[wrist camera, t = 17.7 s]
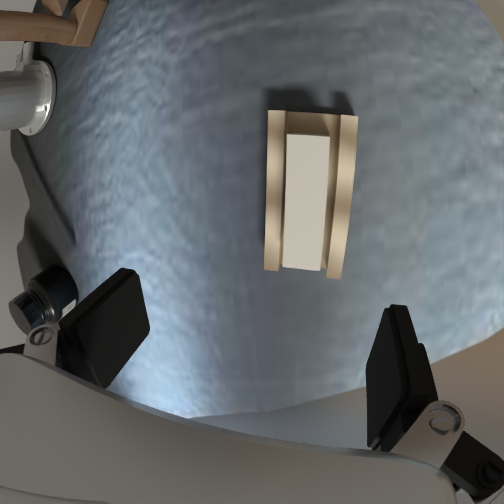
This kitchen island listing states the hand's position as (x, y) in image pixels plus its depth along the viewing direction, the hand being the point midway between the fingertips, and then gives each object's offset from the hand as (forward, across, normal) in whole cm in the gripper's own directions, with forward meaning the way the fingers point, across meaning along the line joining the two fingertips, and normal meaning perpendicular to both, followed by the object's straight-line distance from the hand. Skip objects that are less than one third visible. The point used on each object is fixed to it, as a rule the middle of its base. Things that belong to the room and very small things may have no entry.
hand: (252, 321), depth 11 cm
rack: (+22, -1, 0) cm, 22 cm away
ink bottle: (+23, +41, +19) cm, 51 cm away
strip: (+21, -1, 0) cm, 21 cm away
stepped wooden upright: (+23, +27, -25) cm, 43 cm away
